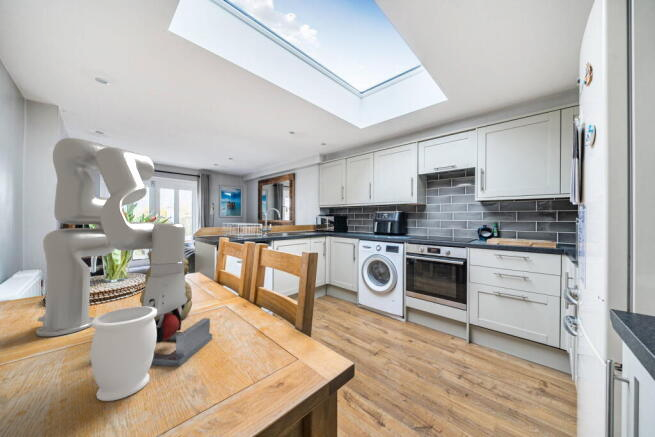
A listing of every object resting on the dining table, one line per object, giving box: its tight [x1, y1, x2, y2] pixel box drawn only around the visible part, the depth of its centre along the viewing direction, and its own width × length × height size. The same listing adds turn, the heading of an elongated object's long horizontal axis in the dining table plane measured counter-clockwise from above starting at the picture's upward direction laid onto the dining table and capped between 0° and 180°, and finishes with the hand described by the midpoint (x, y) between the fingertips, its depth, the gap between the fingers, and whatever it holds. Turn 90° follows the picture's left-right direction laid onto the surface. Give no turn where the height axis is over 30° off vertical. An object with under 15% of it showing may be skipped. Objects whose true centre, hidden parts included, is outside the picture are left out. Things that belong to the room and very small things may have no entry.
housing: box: [151, 317, 213, 368], centre depth 65 cm, size 22×14×6 cm, turn 85°
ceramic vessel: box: [139, 250, 193, 321], centre depth 85 cm, size 17×20×25 cm
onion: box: [156, 312, 179, 342], centre depth 65 cm, size 6×6×8 cm
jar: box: [90, 305, 157, 402], centre depth 50 cm, size 11×10×15 cm
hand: (165, 335), depth 65 cm, fingers closed on onion, 5 cm apart
